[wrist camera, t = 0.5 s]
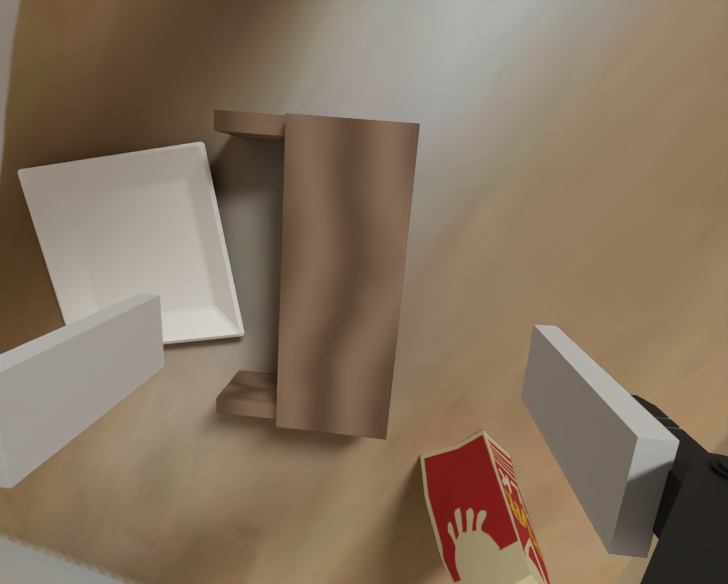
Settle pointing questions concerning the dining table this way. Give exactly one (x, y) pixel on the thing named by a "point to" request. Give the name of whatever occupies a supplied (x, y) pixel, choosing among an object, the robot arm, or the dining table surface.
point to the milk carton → (480, 515)
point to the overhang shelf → (333, 271)
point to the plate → (137, 238)
